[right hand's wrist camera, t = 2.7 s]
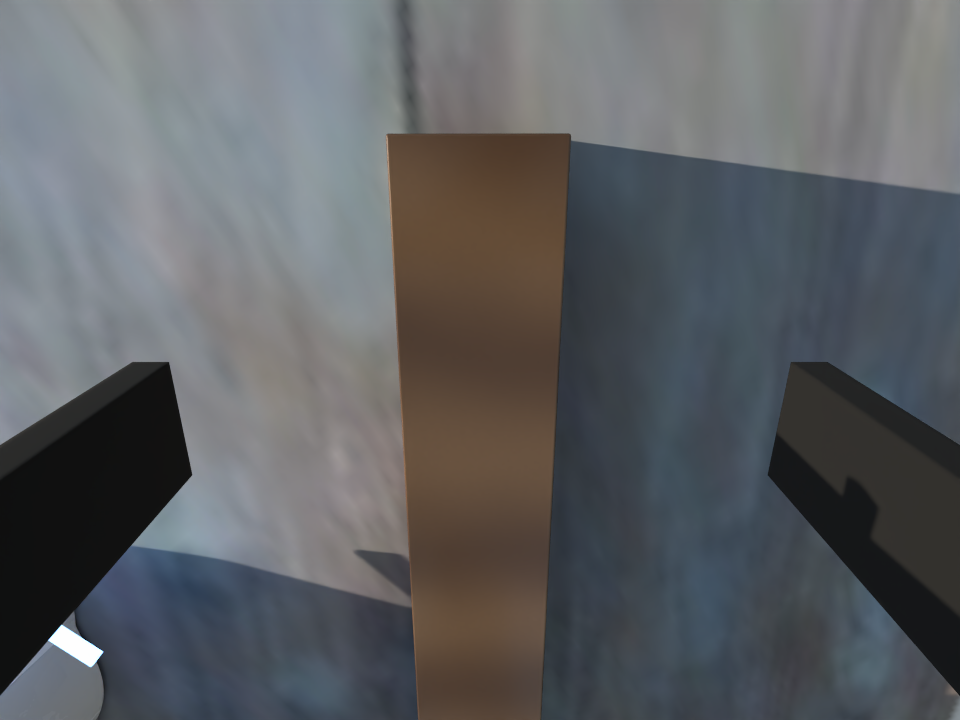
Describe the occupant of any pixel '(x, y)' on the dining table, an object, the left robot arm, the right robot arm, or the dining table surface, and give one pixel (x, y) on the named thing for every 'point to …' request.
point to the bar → (479, 407)
